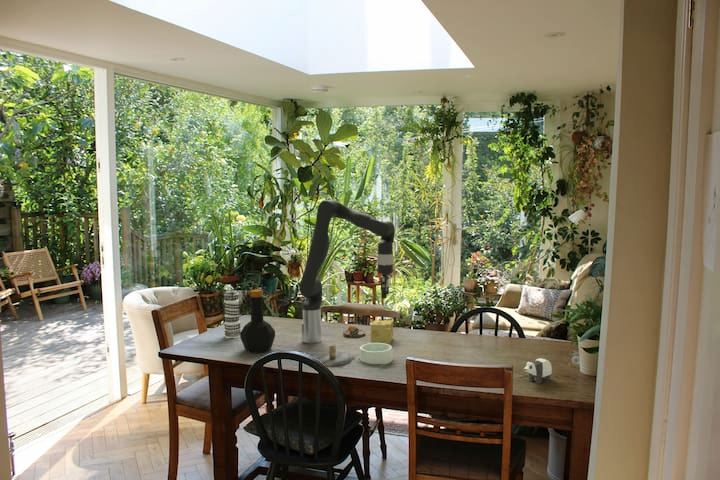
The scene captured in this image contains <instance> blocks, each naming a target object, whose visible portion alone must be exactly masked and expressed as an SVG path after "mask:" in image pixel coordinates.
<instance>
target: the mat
mask: <svg viewBox="0 0 720 480" xmlns="http://www.w3.org/2000/svg"><path fill="white" fill-rule="evenodd" d="M350 357H351V361H353V360H354V359H355V358H356V357H355V356H350ZM346 365H347V364H345V365H341V366H332V368H339V369H342V368H344V367H345V366H346Z"/></svg>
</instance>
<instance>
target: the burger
mask: <svg viewBox="0 0 720 480" xmlns="http://www.w3.org/2000/svg"><path fill="white" fill-rule="evenodd" d="M365 334H366V331H365V330H363V329H359V328H357V326H356V324H349V326H348V328H347V330H344V331H343V332H342V336H343V337H345V338H350V339H358V338H359V339H360V338H363V337H364V335H365Z"/></svg>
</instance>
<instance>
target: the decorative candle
mask: <svg viewBox="0 0 720 480" xmlns="http://www.w3.org/2000/svg"><path fill="white" fill-rule="evenodd" d="M239 294H240V293H239V292H238V291H237V290H235V289H231V290H226V291H225V292H224V293H223V298H224V299H223V301H222V306H223V313H224V314H223V315H224V329H225V330H224V337H226V338H225V339H228V338H235V339H237V338H236V337H239V338H240V333H241V331H242V329H241V323H240V322H241V320H240V316H241V310H240V309H241V304H240V303H239V302H240V299H239Z"/></svg>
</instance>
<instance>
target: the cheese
mask: <svg viewBox="0 0 720 480" xmlns="http://www.w3.org/2000/svg"><path fill="white" fill-rule="evenodd" d="M393 337H394V321H393V320H389V319H388V320H377V319H376V320H373V321H372V322H371V324H370V343H385V344H388V345H391V343H392V341H393V339H394V338H393Z"/></svg>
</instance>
